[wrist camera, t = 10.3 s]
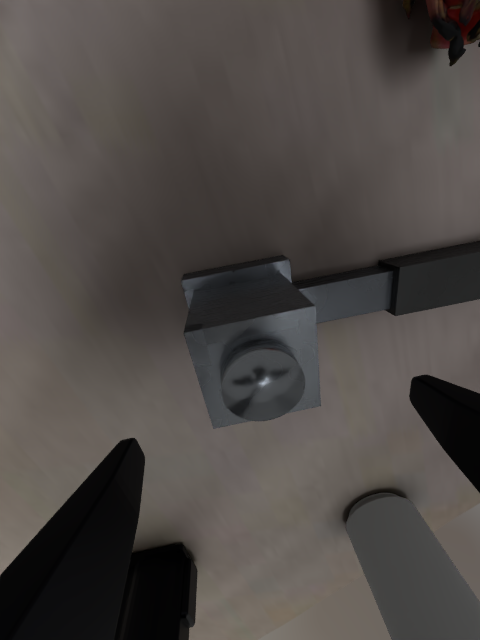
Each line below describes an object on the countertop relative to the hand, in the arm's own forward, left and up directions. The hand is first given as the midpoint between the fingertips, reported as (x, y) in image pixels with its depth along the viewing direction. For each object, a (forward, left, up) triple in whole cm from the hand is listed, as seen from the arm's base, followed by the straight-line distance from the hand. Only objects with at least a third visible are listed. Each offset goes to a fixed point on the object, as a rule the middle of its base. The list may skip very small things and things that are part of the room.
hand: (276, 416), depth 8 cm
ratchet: (+7, 0, -9) cm, 11 cm away
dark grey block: (0, 0, -8) cm, 8 cm away
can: (+10, -26, -9) cm, 29 cm away
